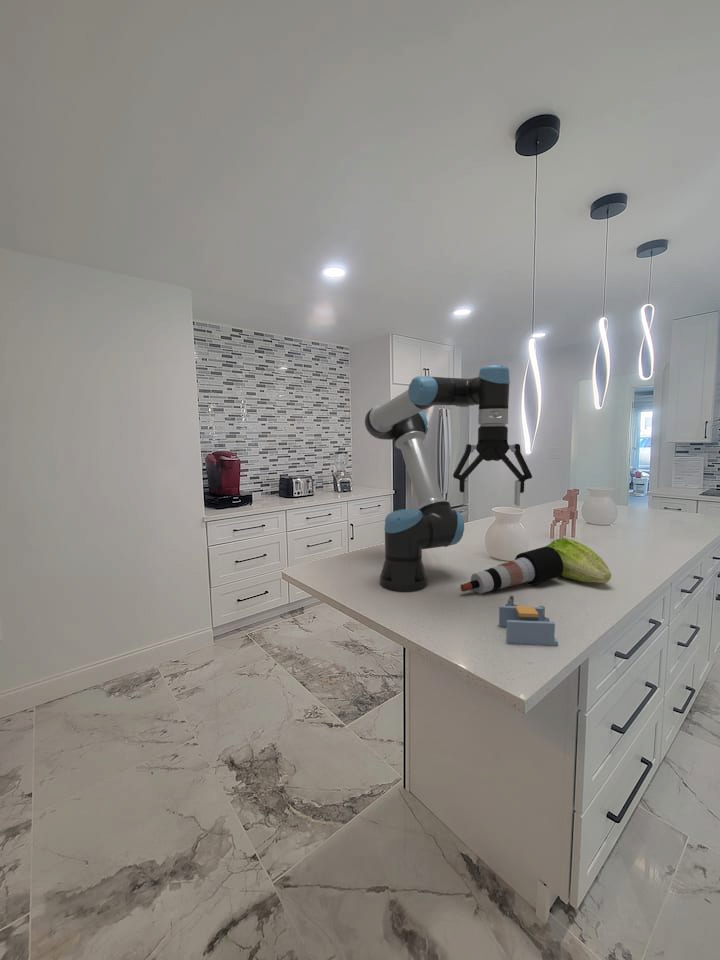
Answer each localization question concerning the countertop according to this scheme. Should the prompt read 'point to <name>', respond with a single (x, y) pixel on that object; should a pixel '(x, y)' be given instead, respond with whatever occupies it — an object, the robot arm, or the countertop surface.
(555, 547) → the lettuce
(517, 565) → the cable
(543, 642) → the holder
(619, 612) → the countertop surface
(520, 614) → the block
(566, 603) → the countertop surface
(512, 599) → the clip
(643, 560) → the countertop surface
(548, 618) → the clip
